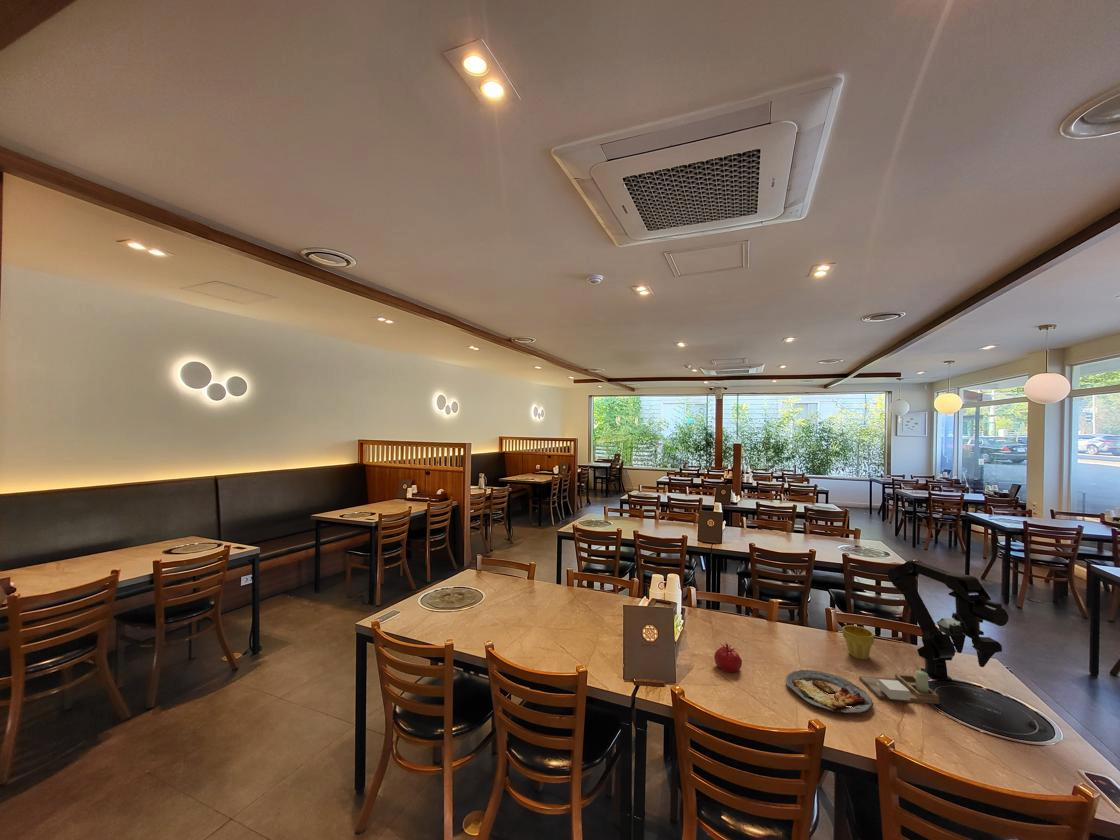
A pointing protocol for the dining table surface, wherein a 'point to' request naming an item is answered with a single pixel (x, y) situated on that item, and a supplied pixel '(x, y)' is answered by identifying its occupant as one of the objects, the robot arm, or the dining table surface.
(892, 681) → the cover
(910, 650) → the dining table surface
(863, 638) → the plant pot
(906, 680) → the board
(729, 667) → the pomegranate
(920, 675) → the peg
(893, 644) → the dining table surface
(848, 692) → the food plate
